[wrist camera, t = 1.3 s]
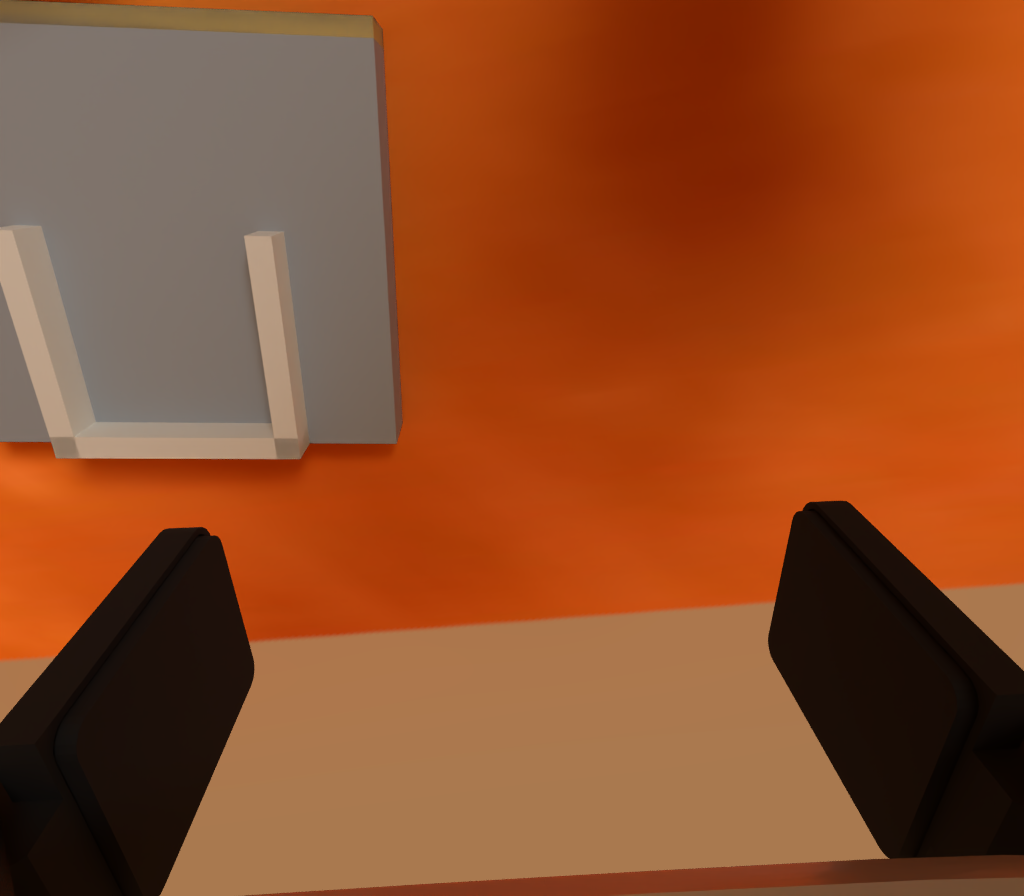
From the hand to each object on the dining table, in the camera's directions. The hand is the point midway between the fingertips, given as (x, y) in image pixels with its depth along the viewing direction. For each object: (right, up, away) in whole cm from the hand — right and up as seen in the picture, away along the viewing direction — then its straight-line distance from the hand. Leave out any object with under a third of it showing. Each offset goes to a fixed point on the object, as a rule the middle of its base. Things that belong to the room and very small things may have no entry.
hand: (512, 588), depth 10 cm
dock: (-17, +13, +22) cm, 31 cm away
